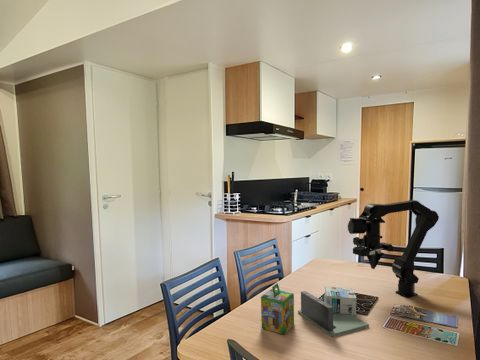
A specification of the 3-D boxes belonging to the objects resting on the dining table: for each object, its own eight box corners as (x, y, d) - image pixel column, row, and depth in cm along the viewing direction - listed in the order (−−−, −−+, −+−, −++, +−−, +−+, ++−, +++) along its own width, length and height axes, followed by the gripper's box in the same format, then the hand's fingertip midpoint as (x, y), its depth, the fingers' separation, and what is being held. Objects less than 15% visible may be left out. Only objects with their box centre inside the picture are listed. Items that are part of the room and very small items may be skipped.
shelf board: (331, 305, 131) (331, 302, 131) (368, 327, 113) (368, 324, 113) (298, 312, 125) (298, 310, 125) (332, 337, 106) (332, 334, 106)
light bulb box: (356, 297, 120) (327, 295, 121) (356, 315, 120) (326, 313, 122) (351, 287, 130) (324, 285, 132) (351, 303, 130) (324, 301, 132)
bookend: (309, 310, 124) (309, 290, 124) (337, 329, 110) (337, 305, 109) (301, 312, 123) (300, 291, 122) (328, 331, 108) (328, 308, 108)
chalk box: (284, 335, 108) (284, 292, 107) (260, 329, 113) (260, 287, 112) (295, 324, 116) (294, 283, 115) (272, 318, 120) (271, 279, 120)
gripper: (373, 228, 151) (373, 261, 151) (343, 232, 142) (343, 267, 143) (393, 232, 141) (393, 267, 141) (363, 236, 132) (363, 274, 133)
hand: (373, 268), depth 140 cm, fingers closed
